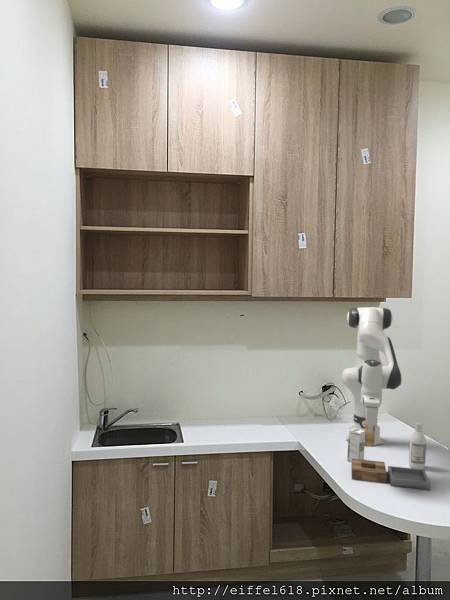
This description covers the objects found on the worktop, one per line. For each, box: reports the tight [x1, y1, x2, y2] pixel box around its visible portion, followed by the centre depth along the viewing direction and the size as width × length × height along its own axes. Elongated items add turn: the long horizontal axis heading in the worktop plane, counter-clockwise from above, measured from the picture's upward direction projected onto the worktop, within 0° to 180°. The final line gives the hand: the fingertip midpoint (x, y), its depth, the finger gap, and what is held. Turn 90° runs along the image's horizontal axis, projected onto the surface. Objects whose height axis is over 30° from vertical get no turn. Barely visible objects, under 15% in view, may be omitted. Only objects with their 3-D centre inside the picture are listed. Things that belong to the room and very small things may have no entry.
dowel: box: [364, 420, 375, 448], centre depth 215 cm, size 4×4×14 cm
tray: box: [387, 465, 431, 491], centre depth 210 cm, size 15×15×3 cm
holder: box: [350, 459, 388, 484], centre depth 216 cm, size 14×14×4 cm
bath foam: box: [408, 422, 427, 470], centre depth 227 cm, size 7×7×20 cm
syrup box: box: [346, 428, 365, 463], centre depth 232 cm, size 6×6×14 cm
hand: (369, 430), depth 215 cm, fingers closed on dowel, 4 cm apart
